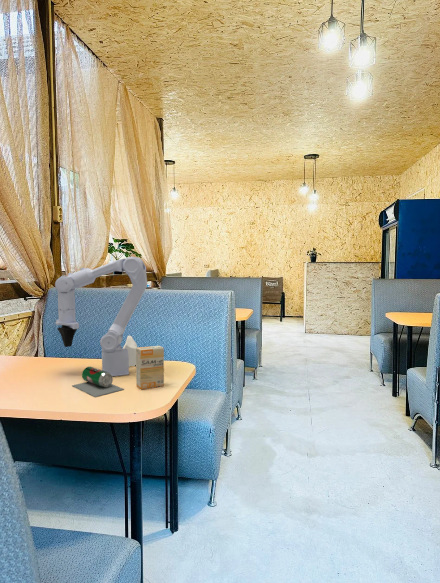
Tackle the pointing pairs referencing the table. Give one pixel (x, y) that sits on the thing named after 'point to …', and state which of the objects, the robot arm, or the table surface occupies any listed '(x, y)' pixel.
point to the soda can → (97, 377)
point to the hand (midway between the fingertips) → (67, 346)
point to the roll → (131, 350)
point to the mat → (97, 389)
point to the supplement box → (149, 367)
